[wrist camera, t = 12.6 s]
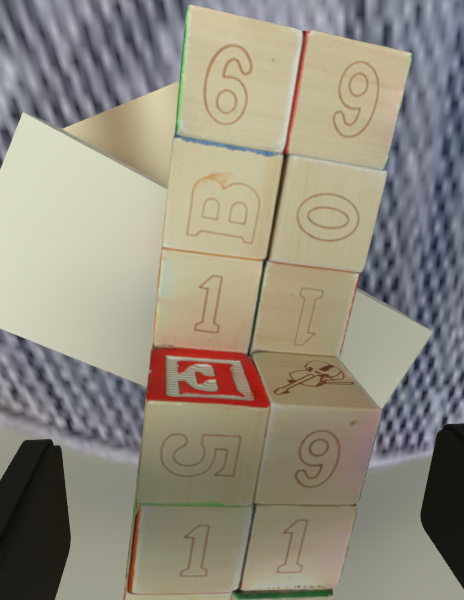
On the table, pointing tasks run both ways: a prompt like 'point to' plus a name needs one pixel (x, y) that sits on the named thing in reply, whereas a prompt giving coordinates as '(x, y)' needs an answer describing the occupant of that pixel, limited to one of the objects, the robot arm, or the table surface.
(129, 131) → the lower slab
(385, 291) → the table surface
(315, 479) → the stack of blocks
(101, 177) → the upper slab
